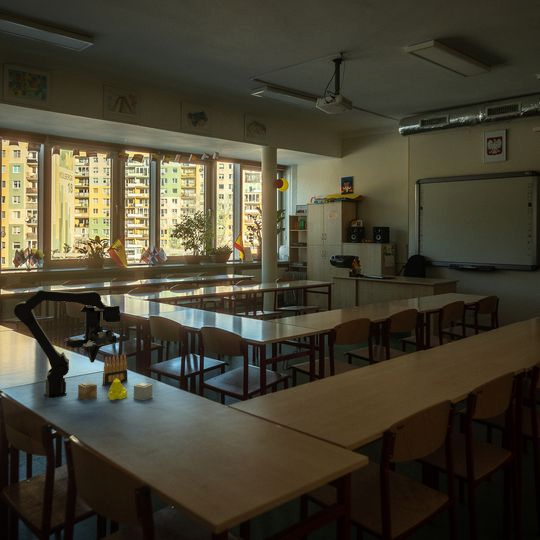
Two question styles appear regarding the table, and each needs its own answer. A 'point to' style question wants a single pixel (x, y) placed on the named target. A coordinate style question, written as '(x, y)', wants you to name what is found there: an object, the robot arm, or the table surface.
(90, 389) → the walnut tagged block
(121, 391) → the crumpled paper
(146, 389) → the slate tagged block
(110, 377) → the ammunition clip
